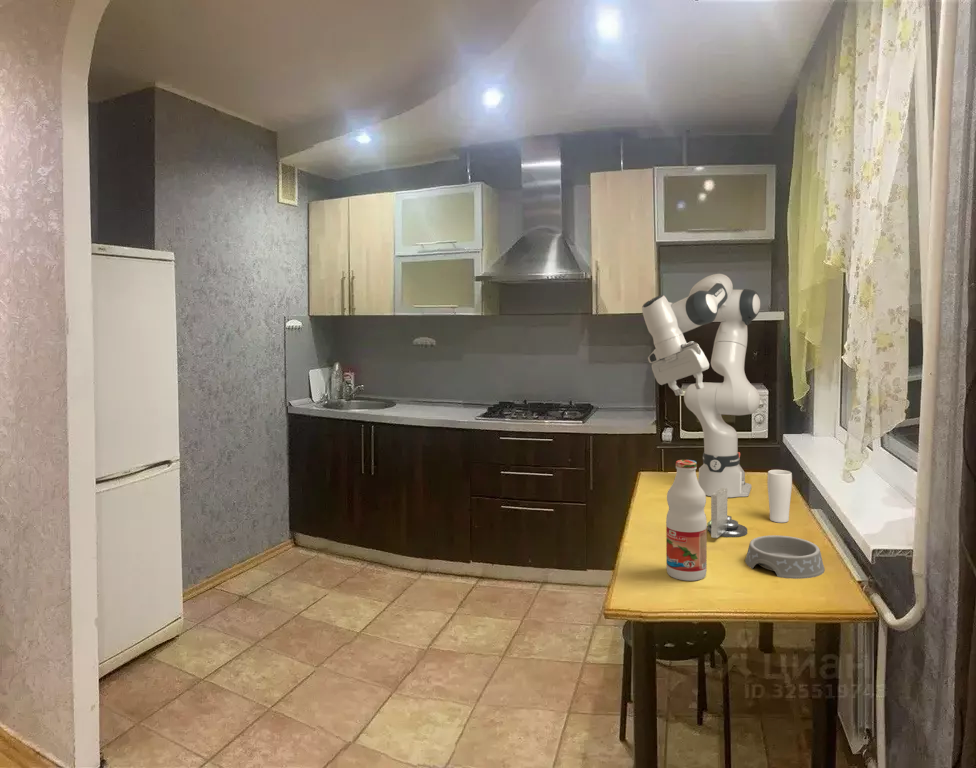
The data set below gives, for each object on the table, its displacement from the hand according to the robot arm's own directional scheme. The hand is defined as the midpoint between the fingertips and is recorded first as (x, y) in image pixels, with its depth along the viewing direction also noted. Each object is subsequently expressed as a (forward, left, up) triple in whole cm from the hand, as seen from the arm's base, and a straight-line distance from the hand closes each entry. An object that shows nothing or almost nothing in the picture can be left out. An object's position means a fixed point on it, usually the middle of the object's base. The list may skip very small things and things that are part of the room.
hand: (689, 391), depth 200 cm
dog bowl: (+20, +31, -41) cm, 55 cm away
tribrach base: (+1, +12, -40) cm, 42 cm away
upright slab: (+6, +12, -39) cm, 41 cm away
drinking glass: (-17, +22, -40) cm, 49 cm away
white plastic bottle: (+39, +14, -40) cm, 58 cm away
